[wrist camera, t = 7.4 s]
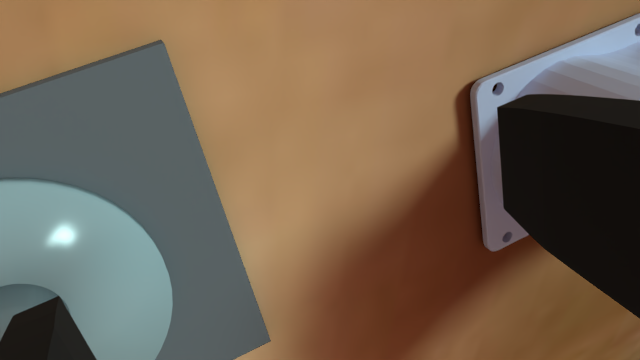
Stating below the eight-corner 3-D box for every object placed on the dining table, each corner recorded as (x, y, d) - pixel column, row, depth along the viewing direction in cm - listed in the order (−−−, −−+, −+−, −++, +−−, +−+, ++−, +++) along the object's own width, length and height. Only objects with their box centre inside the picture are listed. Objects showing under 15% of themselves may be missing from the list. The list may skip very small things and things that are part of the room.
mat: (160, 39, 17) (163, 42, 17) (267, 334, 23) (270, 341, 23) (-431, 238, 14) (-442, 247, 13) (-122, 525, 20) (-125, 536, 20)
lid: (100, 127, 17) (118, 180, 14) (206, 347, 22) (237, 423, 19) (-262, 267, 15) (-335, 368, 12) (-57, 479, 20) (-71, 591, 17)
